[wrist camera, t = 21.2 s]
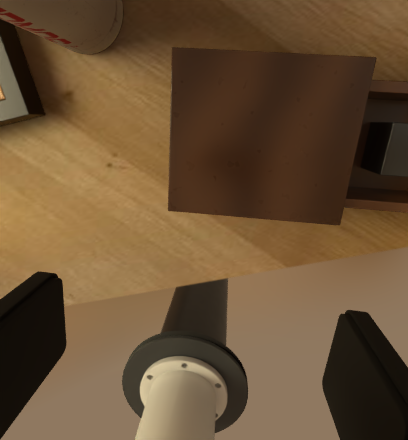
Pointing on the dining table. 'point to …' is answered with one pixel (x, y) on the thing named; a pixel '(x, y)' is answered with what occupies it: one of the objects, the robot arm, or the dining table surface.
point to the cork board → (15, 80)
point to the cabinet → (265, 132)
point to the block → (387, 149)
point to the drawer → (361, 178)
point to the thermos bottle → (68, 21)
